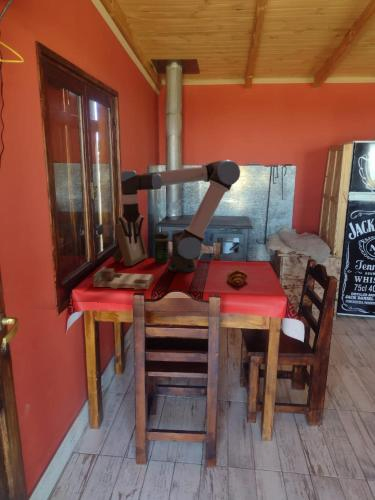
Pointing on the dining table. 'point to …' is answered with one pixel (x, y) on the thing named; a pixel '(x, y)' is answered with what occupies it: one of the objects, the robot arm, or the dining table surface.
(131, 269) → the dining table surface
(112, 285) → the trap board
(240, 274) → the croissant
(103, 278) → the walnut block
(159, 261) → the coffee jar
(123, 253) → the photo frame
